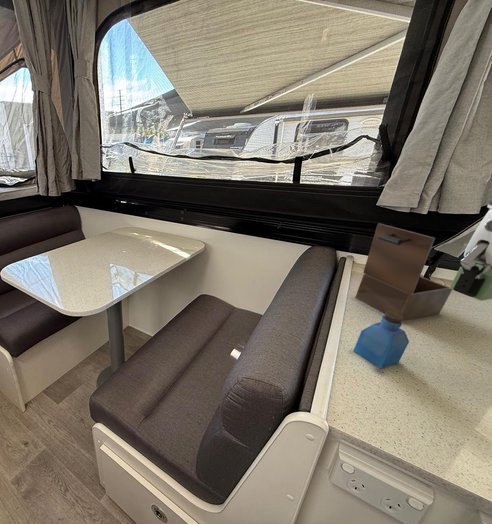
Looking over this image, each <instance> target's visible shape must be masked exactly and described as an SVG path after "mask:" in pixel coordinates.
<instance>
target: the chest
mask: <svg viewBox="0 0 492 524" xmlns="http://www.w3.org/2000/svg"><path fill="white" fill-rule="evenodd" d="M449 288H450V286H448V285H444V284H443V283H440V282H436V281H434V280H432V279H429V278H427V277H424V276H422V275H420V278H419V280H418V283H417V285H416V288H415V290H414V293H413V294H409V293H407V292H405V291H402V290H400V289H398V288H396V287H393V286H391V285H389V284H387V283H385V282H382V281H380V280H378V279H376V278H373V277H371V276H369V275H367V274H364V273H363V275H362V278H361V280H360V282H359V286H358V289H357V291H356V294H355V297H354V298H355V299H357V300H359V301H361V302H362V303H364V304H366V305H367V306H369V307H372V308H373V309H375V310H376V311H379V312H381V314H382V313H383V315H385V312H387V311H390V312H395V313H397V314H400V315H401V316H403V320H402V322H405V321H409V320H414V319H415V320H416V319H421V318H426V317H432V316H436V315H437V316H438V315H440V313H441V311H442V310H443V308H444V306H445V304H446V302H447V301H448V299H449V297H450V295H451V294H452V291H453V290H452V289H449Z"/></svg>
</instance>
